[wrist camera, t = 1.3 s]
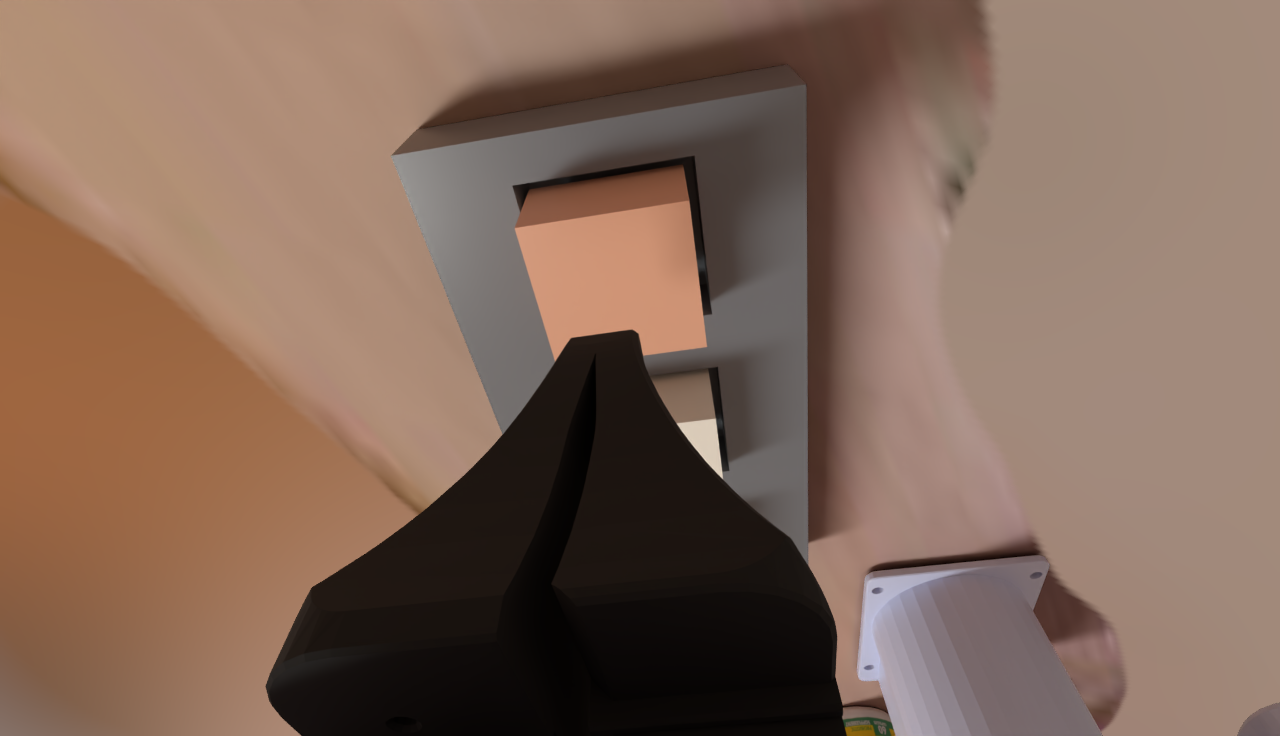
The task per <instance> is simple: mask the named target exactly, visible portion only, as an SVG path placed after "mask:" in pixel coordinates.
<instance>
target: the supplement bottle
mask: <svg viewBox="0 0 1280 736" xmlns="http://www.w3.org/2000/svg"><path fill="white" fill-rule="evenodd" d="M842 718H843V722H844V726H845V730H846V734H847V736H896V735H895V732H894V729H893V726H892V722H891V719H890V716H889V714H887V713H886V712H884V711H882V710H880V709H876V708H871V707H859V706H853V707H844V708H843V716H842Z"/></svg>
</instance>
